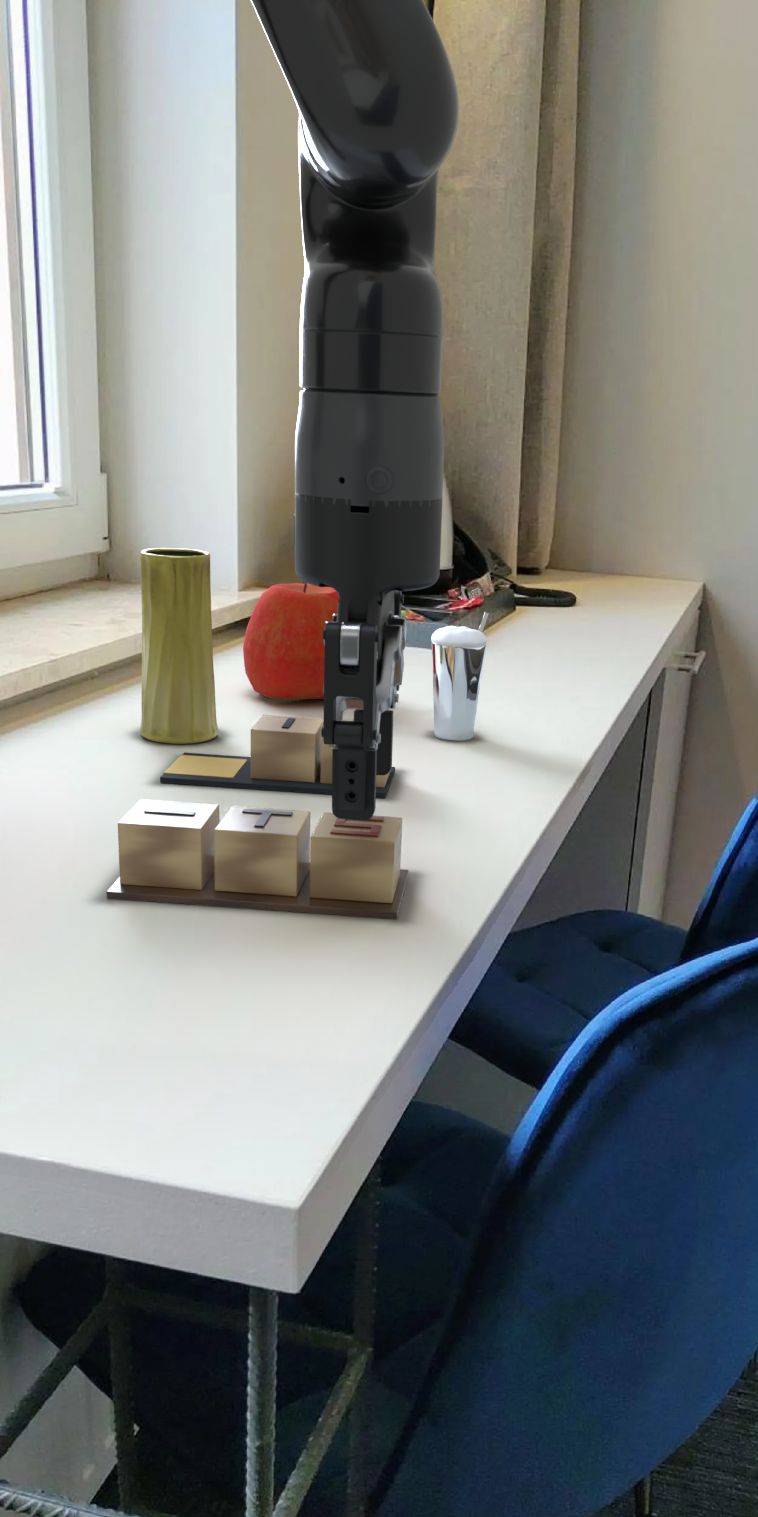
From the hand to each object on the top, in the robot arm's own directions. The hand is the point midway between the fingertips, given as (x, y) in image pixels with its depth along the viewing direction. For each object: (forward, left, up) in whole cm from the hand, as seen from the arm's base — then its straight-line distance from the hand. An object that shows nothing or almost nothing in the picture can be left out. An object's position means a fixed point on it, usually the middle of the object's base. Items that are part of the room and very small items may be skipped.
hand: (363, 794), depth 74 cm
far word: (-9, +22, -6) cm, 25 cm away
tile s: (0, 0, -6) cm, 6 cm away
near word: (-6, 0, -6) cm, 8 cm away
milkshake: (+3, +38, -6) cm, 39 cm away
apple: (-12, +49, -6) cm, 51 cm away
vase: (-19, +32, -6) cm, 38 cm away
